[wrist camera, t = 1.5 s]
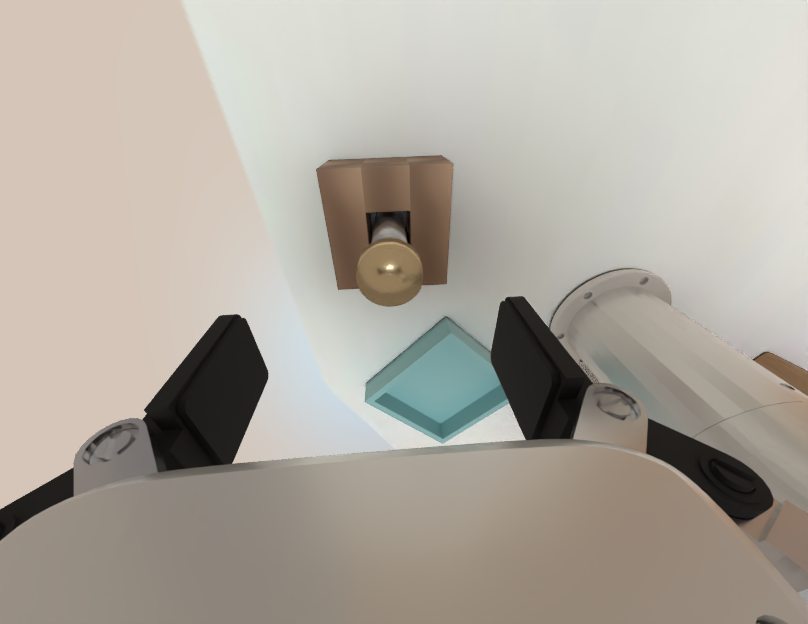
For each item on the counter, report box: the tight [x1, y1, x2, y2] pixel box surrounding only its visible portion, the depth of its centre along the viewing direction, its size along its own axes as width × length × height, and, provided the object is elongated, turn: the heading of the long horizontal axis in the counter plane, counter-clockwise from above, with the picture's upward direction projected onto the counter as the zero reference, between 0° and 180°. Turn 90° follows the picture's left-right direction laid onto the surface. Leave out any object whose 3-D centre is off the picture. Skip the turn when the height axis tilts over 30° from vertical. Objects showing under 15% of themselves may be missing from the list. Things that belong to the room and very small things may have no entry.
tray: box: [365, 317, 509, 444], centre depth 36 cm, size 14×14×3 cm
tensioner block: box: [316, 155, 453, 290], centre depth 23 cm, size 9×9×5 cm
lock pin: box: [356, 211, 424, 306], centre depth 20 cm, size 4×4×12 cm
